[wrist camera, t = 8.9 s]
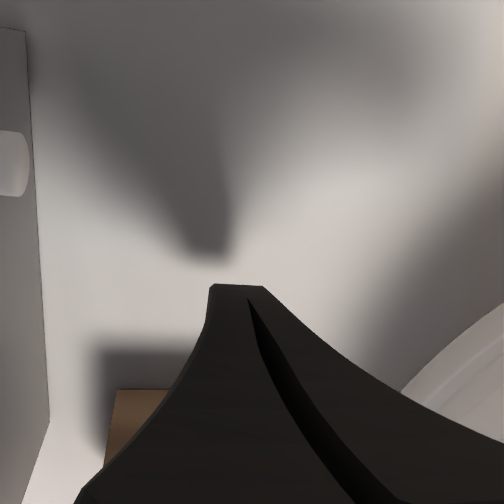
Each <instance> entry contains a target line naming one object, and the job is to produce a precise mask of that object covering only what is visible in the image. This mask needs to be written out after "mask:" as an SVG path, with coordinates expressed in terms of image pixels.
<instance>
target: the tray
mask: <svg viewBox="0 0 504 504" xmlns="http://www.w3.org/2000/svg"><path fill="white" fill-rule="evenodd" d="M49 423H50V420H49V404H48V388H47V372H46V356H45V340H44V324H43V309H42V293H41V277H40V261H39V245H38V229H37V213H36V197H35V181H34V166H33V150H32V134H31V118H30V102H29V86H28V70H27V54H26V38H25V31H19V30H13V29H7V28H1V27H0V504H21V503H22V501H23V498H24V495H25V492H26V489H27V486H28V483H29V480H30V477H31V475H32V472H33V469H34V466H35V463H36V460H37V457H38V454H39V451H40V449H41V446H42V443H43V440H44V437H45V434H46V431H47V428H48V425H49Z"/></svg>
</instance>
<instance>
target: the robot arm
mask: <svg viewBox="0 0 504 504" xmlns="http://www.w3.org/2000/svg"><path fill="white" fill-rule="evenodd" d="M73 504H504V443H502V442H500V441H497V440H495V439H492V438H490V437H487V436H485V435H483V434H480V433H478V432H476V431H474V430H472V429H470V428H467V427H465V426H463V425H461V424H459V423H457V422H455V421H452V420H450V419H448V418H446V417H444V416H442V415H440V414H438V413H436V412H434V411H432V410H430V409H428V408H426V407H424V406H422V405H421V404H419V403H417V402H415V401H413V400H412V399H410V398H408V397H406V396H405V395H403V394H401V393H399V392H397V391H396V390H394V389H392V388H390V387H389V386H387V385H386V384H384V383H382V382H381V381H379V380H377V379H376V378H374V377H373V376H371V375H370V374H368V373H367V372H365V371H364V370H362V369H361V368H359V367H358V366H356V365H355V364H353V363H352V362H351V361H349V360H348V359H346V358H345V357H344V356H342V355H341V354H340V353H338V352H337V351H336V350H335V349H333V348H332V347H331V346H330V345H328V344H327V343H326V342H324V341H323V340H322V339H321V338H320V337H318V336H317V335H316V334H315V333H314V332H312V331H311V330H310V329H309V328H308V327H307V326H306V325H304V324H303V323H302V322H301V321H300V320H299V319H298V318H297V317H296V316H295V315H293V314H292V313H291V312H290V311H289V310H288V309H287V308H286V307H285V306H284V305H283V304H282V303H281V302H280V301H279V300H278V299H277V298H275V297H274V296H273V295H272V294H271V293H270V292H269V291H268V290H267V289H266V288H264V287H263V286H252V285H233V284H213V285H212V286H211V287H210V288H209V295H208V303H207V311H206V319H205V324H204V327H203V329H202V332H201V334H200V336H199V338H198V341H197V343H196V345H195V347H194V350H193V352H192V353H191V355H190V357H189V359H188V361H187V363H186V365H185V366H184V368H183V370H182V371H181V373H180V375H179V376H178V378H177V380H176V381H175V382H174V384H173V385H172V387H171V388H170V390H169V391H168V393H167V394H166V396H165V397H164V399H163V400H162V401H161V403H160V404H159V405H158V407H157V408H156V409H155V411H154V412H153V413H152V414H151V415H150V417H149V418H148V419H147V420H146V421H145V423H144V424H143V425H142V426H141V427H140V428H139V430H138V431H137V432H136V433H135V434H134V436H133V437H132V438H131V439H130V440H129V441H128V442H127V444H126V445H125V446H124V447H123V448H122V449H121V450H120V451H119V452H118V453H117V454H116V455H115V456H114V457H113V458H112V459H111V460H110V461H109V462H108V463H107V464H106V465H105V466H104V467H103V468H102V469H101V470H100V471H99V472H98V473H97V474H96V475H95V476H94V477H93V478H92V479H91V480H90V481H89V482H88V483H87V484H86V485H85V486H84V487H83V488H82V489H81V491H80V493H79V494H78V496H77V498H76V500H75V502H74V503H73Z"/></svg>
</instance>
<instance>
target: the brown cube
mask: <svg viewBox="0 0 504 504" xmlns="http://www.w3.org/2000/svg"><path fill="white" fill-rule="evenodd" d="M168 391H169V390H117V391H116V397H115V403H114V408H113V414H112V419H111V425H110V431H109V436H108V442H107V447H106V453H105V459H104V464H103V467H104V466H105V465H106V464H107V463H108V462H109V461H110V460H111V459H112V458H113V457H114V456H115V455H116V454H117V453H118V452H119V451H120V450H121V449H122V448H123V447H124V446H125V445H126V444H127V442H128V441H129V440H130V439H131V438H132V437H133V436H134V434H135V433H136V432H137V431H138V430H139V428H140V427H141V426H142V425H143V424H144V423H145V421H146V420H147V419H148V418H149V417H150V415H151V414H152V413H153V412H154V411H155V409H156V408H157V407H158V405H159V404H160V403H161V401H162V400H163V399H164V397H165V396H166V394H167V393H168Z"/></svg>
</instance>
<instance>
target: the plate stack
mask: <svg viewBox="0 0 504 504" xmlns="http://www.w3.org/2000/svg"><path fill="white" fill-rule="evenodd" d="M400 393H401V394H403V395H405V396H406V397H408V398H410V399H412V400H413V401H415V402H417V403H419V404H421V405H422V406H424V407H426V408H428V409H430V410H432V411H434V412H436V413H438V414H440V415H442V416H444V417H446V418H448V419H450V420H452V421H455V422H457V423H459V424H461V425H463V426H465V427H467V428H470V429H472V430H474V431H476V432H478V433H480V434H483V435H485V436H487V437H490V438H492V439H495V440H497V441H500V442H502V443H504V303H502V304H501V305H499V306H498V307H496V308H495V309H494V310H492V311H491V312H489V313H488V314H487V315H485V316H484V317H482V318H481V319H480V320H478V321H477V322H476V323H475V324H473V325H472V326H471V327H469V328H468V329H467V330H466V331H464V332H463V333H462V334H461V335H459V336H458V337H457V338H456V339H454V340H453V341H452V342H451V343H450V344H449V345H448V346H446V347H445V348H444V349H443V350H442V351H441V352H439V353H438V354H437V355H436V356H435V357H434V358H433V359H432V360H431V361H430V362H429V363H428V364H427V365H426V366H425V367H424V368H423V369H422V370H421V371H420V372H419V373H418V374H417V375H416V376H415V377H414V378H413V379H412V380H411V381H410V382H409V383H408V384H407V385H406V386H405V387H404V388H403V390H402V391H401V392H400Z"/></svg>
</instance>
